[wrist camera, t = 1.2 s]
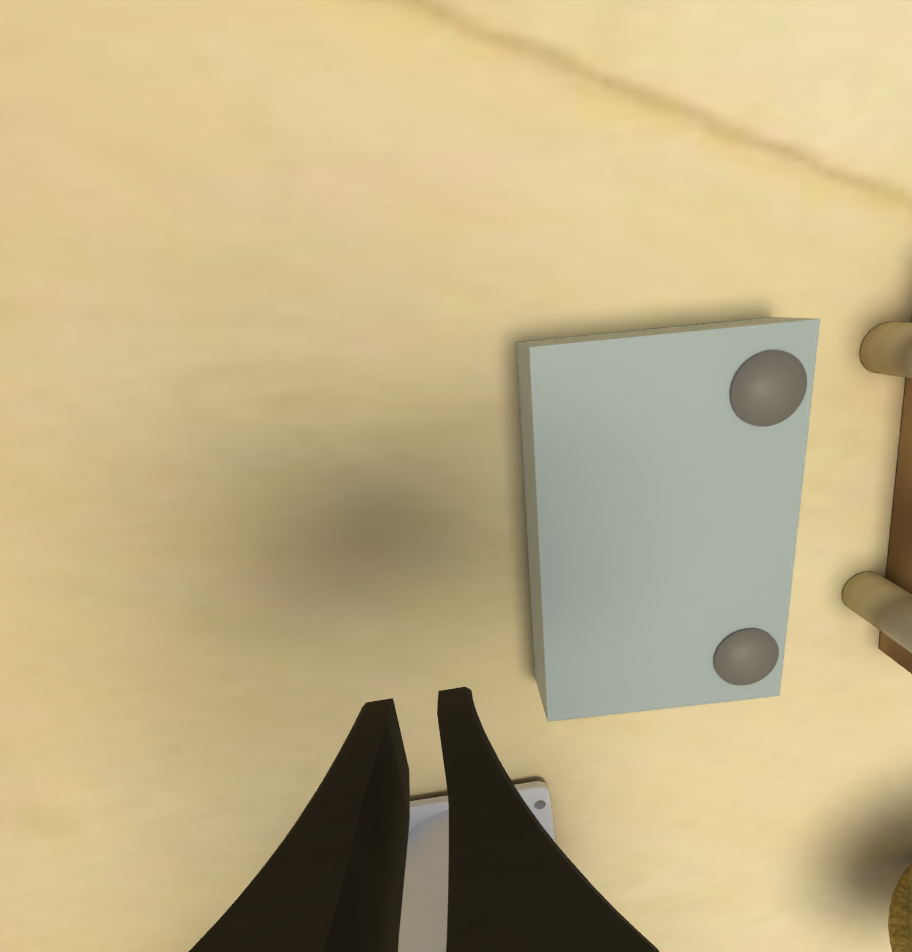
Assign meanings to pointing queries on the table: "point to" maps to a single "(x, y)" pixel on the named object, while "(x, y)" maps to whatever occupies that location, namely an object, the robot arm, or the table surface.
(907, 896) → the wall sconce
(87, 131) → the table surface
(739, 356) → the door
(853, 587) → the hinge rail
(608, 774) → the table surface
